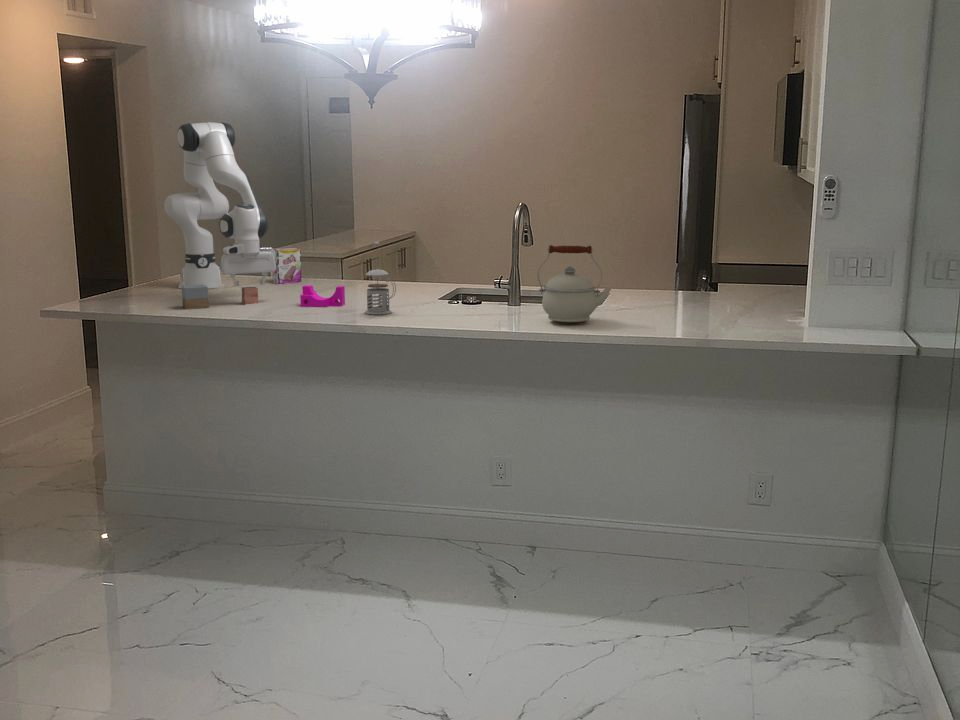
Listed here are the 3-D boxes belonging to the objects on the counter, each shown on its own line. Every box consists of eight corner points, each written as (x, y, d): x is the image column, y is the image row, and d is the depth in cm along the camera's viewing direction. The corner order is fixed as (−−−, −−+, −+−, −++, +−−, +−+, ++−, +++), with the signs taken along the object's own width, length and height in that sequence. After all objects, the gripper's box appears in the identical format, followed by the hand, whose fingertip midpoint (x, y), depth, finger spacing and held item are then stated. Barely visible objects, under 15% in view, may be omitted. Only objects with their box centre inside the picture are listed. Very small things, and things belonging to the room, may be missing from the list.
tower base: (182, 307, 347) (182, 296, 346) (205, 305, 351) (204, 295, 350) (186, 310, 340) (185, 299, 339) (208, 308, 344) (208, 297, 343)
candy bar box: (279, 288, 397) (277, 249, 394) (273, 287, 401) (271, 249, 398) (302, 286, 404) (301, 248, 401) (296, 285, 408) (295, 247, 404)
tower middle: (182, 296, 346) (181, 285, 346) (204, 295, 350) (203, 284, 349) (185, 299, 339) (184, 288, 339) (208, 297, 343) (207, 287, 342)
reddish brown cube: (242, 303, 356) (241, 287, 355) (255, 302, 358) (254, 286, 357) (245, 304, 352) (244, 289, 350) (258, 304, 354) (257, 288, 352)
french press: (372, 309, 340) (370, 240, 335) (401, 311, 336) (400, 241, 331) (359, 313, 331) (357, 242, 326) (389, 315, 327) (387, 243, 322)
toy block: (300, 307, 346) (300, 287, 345) (306, 305, 352) (305, 285, 351) (340, 308, 344) (339, 288, 342) (345, 306, 350) (344, 285, 348)
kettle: (534, 322, 312) (535, 247, 307) (539, 314, 330) (540, 242, 325) (610, 324, 308) (612, 248, 303) (611, 315, 326) (613, 243, 321)
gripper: (273, 246, 357) (275, 282, 360) (218, 248, 349) (220, 285, 351) (277, 247, 352) (279, 284, 354) (221, 249, 343) (223, 287, 346)
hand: (249, 285), depth 353 cm, fingers open, 8 cm apart
